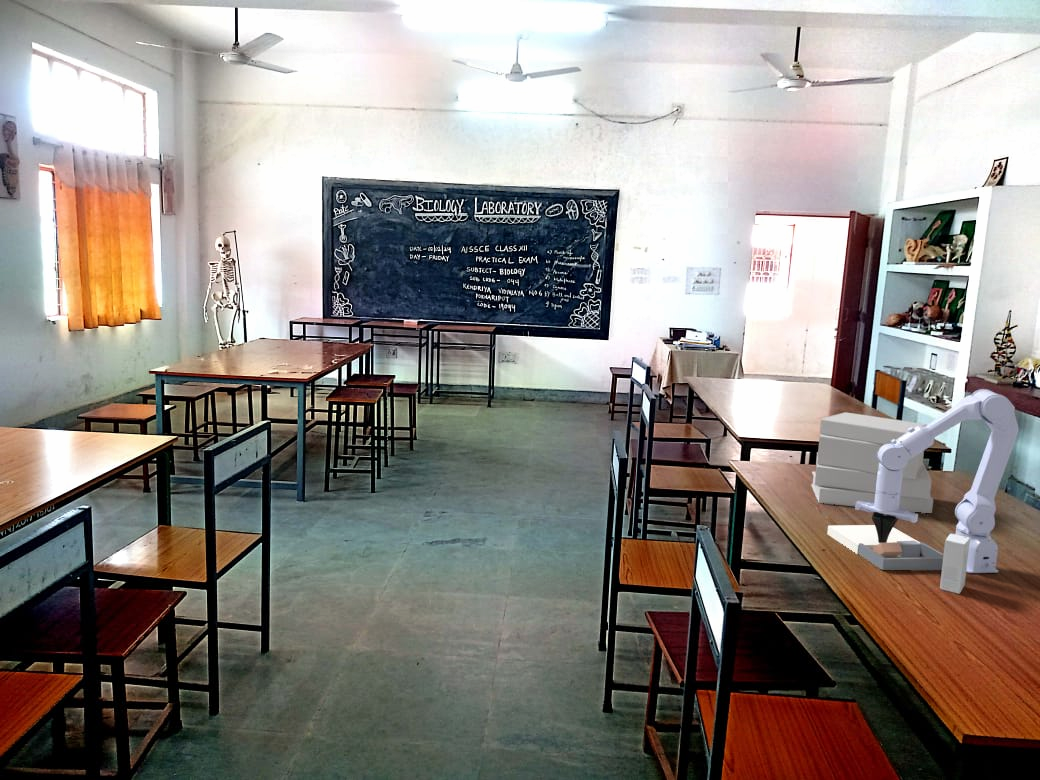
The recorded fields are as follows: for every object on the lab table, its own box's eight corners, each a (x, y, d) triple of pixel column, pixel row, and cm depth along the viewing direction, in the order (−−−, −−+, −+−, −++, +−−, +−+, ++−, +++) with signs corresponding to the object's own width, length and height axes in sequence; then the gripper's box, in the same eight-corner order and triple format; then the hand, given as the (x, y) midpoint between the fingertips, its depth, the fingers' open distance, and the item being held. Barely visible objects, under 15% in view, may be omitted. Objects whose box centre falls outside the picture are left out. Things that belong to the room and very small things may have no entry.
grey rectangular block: (912, 555, 194) (919, 559, 191) (895, 555, 193) (901, 559, 191) (914, 540, 193) (921, 544, 191) (896, 541, 192) (903, 544, 190)
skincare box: (944, 581, 177) (950, 532, 175) (964, 586, 175) (970, 537, 173) (938, 589, 173) (944, 539, 171) (959, 594, 170) (966, 544, 168)
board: (922, 553, 195) (923, 544, 195) (857, 554, 193) (858, 545, 193) (887, 533, 210) (888, 524, 209) (827, 534, 208) (828, 525, 207)
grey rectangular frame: (949, 569, 184) (950, 558, 184) (882, 571, 182) (883, 559, 182) (921, 553, 195) (922, 542, 194) (857, 554, 193) (859, 543, 192)
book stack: (940, 519, 224) (950, 435, 220) (815, 507, 233) (823, 426, 229) (915, 491, 253) (923, 417, 249) (805, 481, 261) (811, 409, 257)
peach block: (891, 548, 193) (894, 558, 191) (872, 549, 192) (876, 558, 191) (898, 542, 190) (902, 551, 188) (880, 542, 189) (883, 551, 188)
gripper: (924, 494, 188) (918, 546, 190) (864, 482, 198) (859, 531, 200) (915, 500, 183) (909, 553, 185) (854, 487, 193) (849, 537, 195)
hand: (882, 542), depth 192 cm, fingers closed
